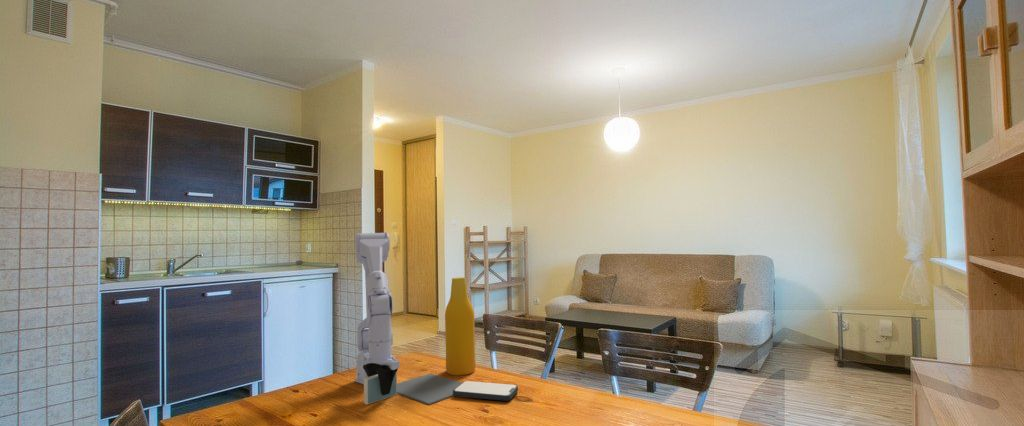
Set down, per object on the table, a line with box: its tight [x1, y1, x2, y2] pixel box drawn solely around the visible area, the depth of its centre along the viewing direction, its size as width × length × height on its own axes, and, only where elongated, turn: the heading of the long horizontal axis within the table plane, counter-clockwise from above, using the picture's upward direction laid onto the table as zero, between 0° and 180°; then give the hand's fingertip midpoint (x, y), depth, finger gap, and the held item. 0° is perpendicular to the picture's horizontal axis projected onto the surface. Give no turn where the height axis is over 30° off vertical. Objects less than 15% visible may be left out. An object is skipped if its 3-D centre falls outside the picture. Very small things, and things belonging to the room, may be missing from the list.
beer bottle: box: [444, 276, 477, 376], centre depth 144 cm, size 9×9×29 cm
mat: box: [397, 372, 463, 406], centre depth 128 cm, size 20×16×1 cm
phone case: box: [453, 380, 519, 402], centre depth 122 cm, size 9×2×16 cm
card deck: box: [363, 371, 398, 405], centre depth 121 cm, size 2×9×6 cm, turn 138°
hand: (380, 392), depth 121 cm, fingers open, 4 cm apart
